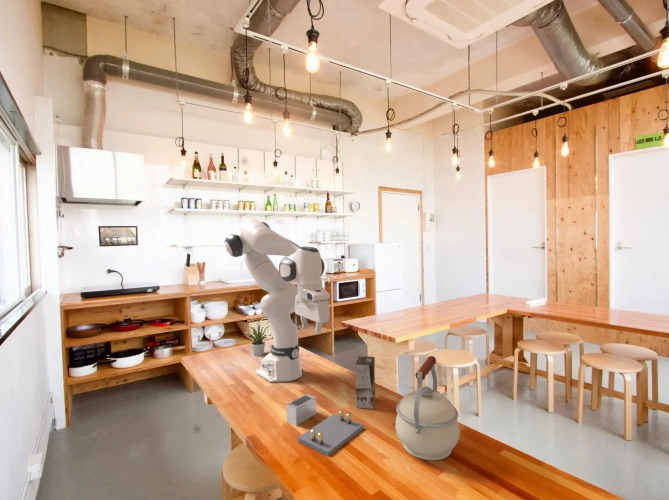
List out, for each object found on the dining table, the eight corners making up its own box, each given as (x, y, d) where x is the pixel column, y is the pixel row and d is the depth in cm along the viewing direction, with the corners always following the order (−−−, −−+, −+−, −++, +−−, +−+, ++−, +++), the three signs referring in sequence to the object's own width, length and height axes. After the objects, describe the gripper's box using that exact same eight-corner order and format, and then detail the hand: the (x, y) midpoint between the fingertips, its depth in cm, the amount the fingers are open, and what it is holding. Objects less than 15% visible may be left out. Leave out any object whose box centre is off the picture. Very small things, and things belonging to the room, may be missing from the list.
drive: (286, 421, 119) (286, 404, 118) (307, 409, 126) (306, 393, 126) (296, 426, 116) (295, 408, 116) (316, 413, 124) (316, 396, 123)
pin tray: (298, 441, 107) (297, 427, 107) (334, 416, 121) (334, 404, 121) (328, 456, 99) (327, 441, 99) (363, 428, 113) (363, 415, 113)
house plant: (266, 347, 198) (265, 319, 197) (278, 353, 187) (277, 323, 186) (242, 353, 189) (241, 323, 188) (253, 360, 178) (252, 328, 177)
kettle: (452, 478, 89) (451, 383, 88) (384, 457, 98) (383, 370, 97) (467, 430, 111) (466, 353, 110) (410, 416, 120) (409, 345, 119)
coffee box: (373, 409, 126) (372, 365, 125) (355, 407, 127) (355, 364, 126) (375, 397, 135) (375, 356, 134) (359, 396, 136) (358, 355, 135)
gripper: (289, 290, 131) (291, 326, 132) (315, 296, 114) (317, 338, 114) (304, 288, 135) (306, 324, 135) (332, 294, 117) (333, 335, 118)
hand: (311, 330), depth 124 cm, fingers open, 8 cm apart
